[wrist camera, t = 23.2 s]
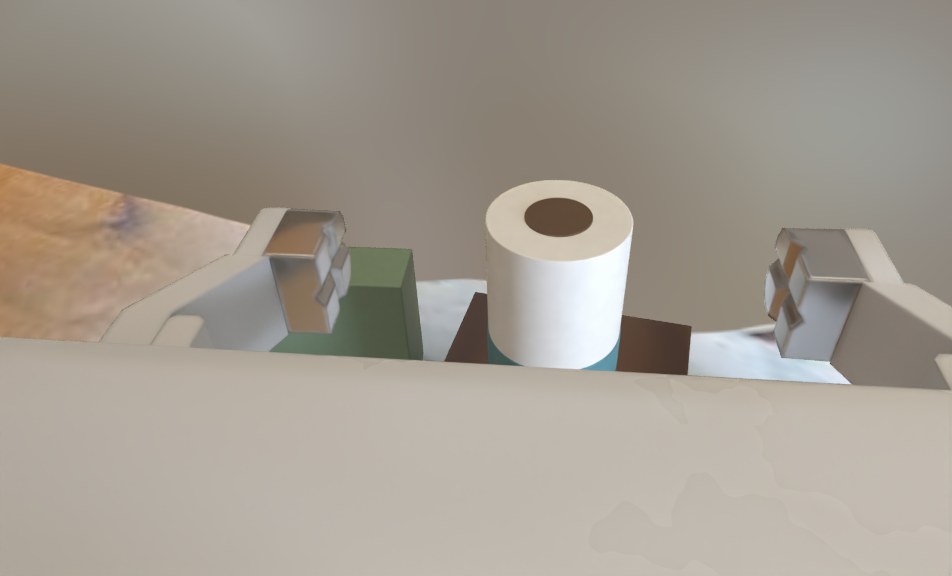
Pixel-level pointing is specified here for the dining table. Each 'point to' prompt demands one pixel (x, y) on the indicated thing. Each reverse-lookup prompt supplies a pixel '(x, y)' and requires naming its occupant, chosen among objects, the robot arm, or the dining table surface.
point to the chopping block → (639, 345)
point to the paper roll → (556, 275)
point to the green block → (371, 311)
